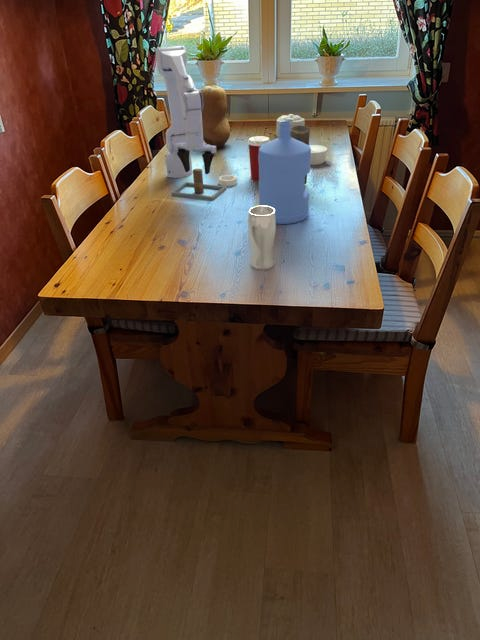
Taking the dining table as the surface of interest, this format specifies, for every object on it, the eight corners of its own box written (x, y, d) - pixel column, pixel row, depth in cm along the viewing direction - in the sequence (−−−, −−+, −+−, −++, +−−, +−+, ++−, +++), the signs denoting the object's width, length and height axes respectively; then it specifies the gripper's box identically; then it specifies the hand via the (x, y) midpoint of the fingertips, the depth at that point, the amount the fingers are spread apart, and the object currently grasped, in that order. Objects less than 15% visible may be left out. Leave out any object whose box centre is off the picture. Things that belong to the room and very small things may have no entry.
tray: (171, 197, 173) (171, 192, 172) (186, 186, 181) (185, 182, 180) (213, 202, 168) (213, 197, 167) (226, 191, 176) (226, 186, 175)
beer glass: (247, 259, 133) (246, 206, 125) (273, 257, 133) (273, 204, 125) (250, 271, 127) (249, 216, 119) (277, 269, 128) (277, 215, 119)
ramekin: (295, 164, 199) (296, 151, 196) (303, 156, 207) (303, 143, 204) (322, 167, 195) (323, 153, 192) (329, 159, 204) (330, 145, 201)
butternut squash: (236, 144, 226) (234, 84, 212) (220, 151, 217) (216, 89, 203) (211, 140, 232) (208, 82, 218) (194, 148, 223) (189, 87, 209)
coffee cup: (268, 184, 181) (268, 141, 172) (246, 183, 182) (245, 141, 174) (272, 176, 188) (272, 135, 179) (250, 175, 189) (249, 135, 181)
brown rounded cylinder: (309, 183, 180) (311, 125, 169) (304, 190, 175) (307, 131, 163) (288, 181, 183) (290, 124, 171) (283, 188, 177) (284, 130, 166)
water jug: (275, 229, 148) (275, 132, 132) (250, 212, 160) (248, 121, 144) (318, 218, 154) (323, 124, 138) (291, 202, 166) (293, 113, 150)
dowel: (193, 193, 174) (191, 171, 169) (197, 190, 176) (195, 168, 172) (201, 194, 173) (199, 172, 168) (205, 191, 175) (203, 169, 170)
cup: (216, 187, 180) (215, 179, 178) (223, 181, 185) (223, 174, 183) (232, 189, 178) (232, 181, 176) (239, 183, 183) (239, 175, 181)
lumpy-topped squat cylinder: (278, 132, 242) (278, 113, 237) (304, 132, 240) (305, 113, 235) (275, 137, 233) (275, 118, 228) (303, 138, 231) (304, 118, 226)
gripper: (168, 132, 162) (173, 173, 170) (208, 136, 157) (211, 178, 165) (179, 127, 167) (182, 167, 175) (218, 130, 162) (220, 171, 170)
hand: (197, 172), depth 170 cm, fingers open, 7 cm apart
